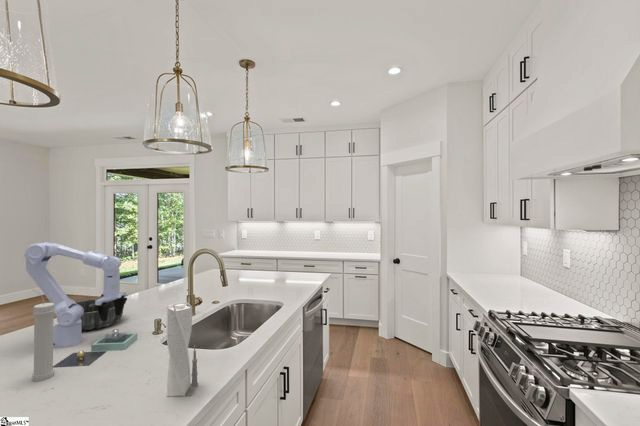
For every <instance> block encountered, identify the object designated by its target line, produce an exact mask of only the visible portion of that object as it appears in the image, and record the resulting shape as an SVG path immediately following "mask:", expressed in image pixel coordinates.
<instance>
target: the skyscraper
mask: <svg viewBox="0 0 640 426" xmlns="http://www.w3.org/2000/svg"><path fill="white" fill-rule="evenodd" d="M187 305H188V306H187ZM192 325H193V306H192V305H191V304H190V303H189V302H187V301H177V302H175V303H171V304H170V305H167V306H166V325H165V327H166V341H167V349H168V354H169V355H168V356H169V359H168V368H167V382H166V383H167V384H166V397H167V398H177V397H192V395H193V394H194V392H195V390H196V388H197V387H198V385H199V382H198V365H197V363H198V359H197V351H196V345H194V346H193V349H194V350H193V351H192V352H193V353H192V354H193V358H192V366H191V362H190V355H189V344H190V340H191V335H192V328H193V327H192ZM191 367H192V369H191Z"/></svg>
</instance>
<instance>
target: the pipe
mask: <svg viewBox="0 0 640 426" xmlns="http://www.w3.org/2000/svg"><path fill="white" fill-rule="evenodd" d="M31 290H32V291H34V292H36V293H38V294H39V295H40V297H41V298H42V301H43V303H39V304H36V305H34V306H33V308H32V310H33V311H32V315H33V316H34V323H33V324H34V328H33V329H34V330H33V331H34V332H33V333H34V334H33V335H34V336H33V342H34V343H33V373H32V374H31V378H32V381H33V382H43V381H47V380H49V379H51V378H53V377H54V376H55V369H56V368H53V366H54V347H53V327H54V317H55V316H54V315H55V314H54V312H55V304H54V303H51V302H45V299H44V297H43V295H42V294H41V292H39V291H38V290H36V289H34V288H33V289H31Z"/></svg>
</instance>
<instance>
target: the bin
mask: <svg viewBox="0 0 640 426" xmlns="http://www.w3.org/2000/svg"><path fill="white" fill-rule="evenodd" d="M125 333H126V341H124V342H122V343H105V337H107V336H109V335H111V334H112V333H109V334H105V335H104V336H102V337H101V338H99V339H98V340H96V341H95V342H94V343H92V344H91V346H90V347H91V348H90V349H91V350H90V352H99V351H107V352H108V351H125V350H126V349H127V348H128V347H130V346H131V345H132V344H133V343H134V342H135V341H137V340H138V332H130V333H129V332H128V333H127V332H125Z"/></svg>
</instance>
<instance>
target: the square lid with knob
mask: <svg viewBox="0 0 640 426" xmlns="http://www.w3.org/2000/svg"><path fill="white" fill-rule="evenodd" d="M107 352H108V351H92V352H91V351H84V350H79V351H76V352H72V353H71V354H69V355H67V356H66V357H65V358H63V359H61V360H60V361H59V362H57V363H56V364H53V369H56V368H71V367H72V368H73V367H75V368H76V367H87V366H88V367H89V366H91V365H92V364H93V363H94V362H95V361H97V360H98V359H99V358H101V357H103V356H104V355H105V354H106V353H107Z"/></svg>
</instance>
